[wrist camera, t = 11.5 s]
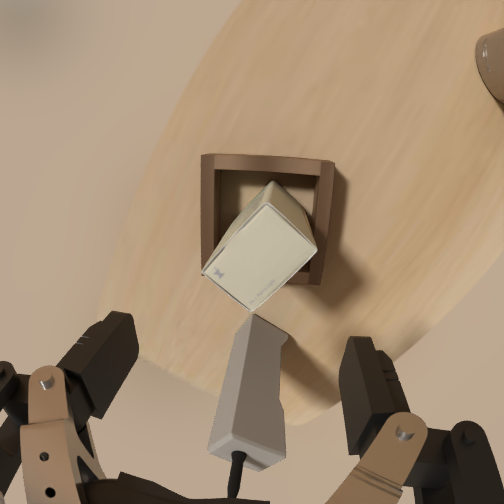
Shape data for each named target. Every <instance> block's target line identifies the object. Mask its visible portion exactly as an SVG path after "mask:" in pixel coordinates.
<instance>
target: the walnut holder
mask: <svg viewBox="0 0 504 504" xmlns="http://www.w3.org/2000/svg"><path fill="white" fill-rule="evenodd" d="M334 168H335V163H333V162H331V161H327V160H317V159H306V158H295V157H281V156H265V155H245V154H205V155H201V266H202V269H203V268H204V266H205V265H206V263H207V261H208V260H209V258H210V257H211V255H212V254H213V252H214V250H215V249H216V247H217V246H218V244H219V243H220V198H221V169H228V170H251V171H269V172H283V173H296V174H308V175H316V179H315V191H314V202H313V212H312V222H311V231H312V234H313V237H314V240H315V243H316V246H317V249H318V250H317V252H316V253H315V254H314V255H313V256H312V257H311V258H310V259H309V260H308V261H307V262H306V263H305V264H304V265H303V266H302V267H301V268H300V269H299V270H298V271H297V272H296V273H295V274H294V275H293V276H292V277H291V278H290V279H289V280H288V281H287V282H286V283H297V284H311V285H320V284H321V277H322V271H323V264H324V257H325V250H326V242H327V234H328V226H329V218H330V209H331V200H332V190H333V180H334ZM202 276H205V275H203V274H202Z"/></svg>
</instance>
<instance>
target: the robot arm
mask: <svg viewBox="0 0 504 504" xmlns="http://www.w3.org/2000/svg"><path fill="white" fill-rule="evenodd" d="M476 61H477V65H478V69H479V72H480V74H481V77H482V79H483V81H484V83H485V84H486V86H487V88H488V89H489V91H490V92H491V93H492V95H493V96H494V97H495V98H496V99H497V100H499V101H500V102H501V103H503V104H504V28H502V29H500V30H497V31H494V32H492V33H489V34H487V35H484V36H482V37H481V38H480V39H479V40H478V42H477V45H476ZM138 354H139V344H138V340H137V335H136V330H135V325H134V320H133V317H132V315H131V314H129V313H123V312H118V311H111V312H110V313H109V314H108V316H107V317H106V318H105V319H104V320H103V321H99V322H97V323H96V324H94V325H92V326H91V327H89V328H88V329H87V331H86V332H85V333H84V334H83V335H82V337H80V338H79V340H78V341H77V343H75V344H74V345H73V346H72V348H71V349H70V350H69V351H68V352H67V354H66V355H65V356H64V357H63V358H62V359H61V361H60V362H59V363H58V364H57V365H56V366H44V367H41V368H39V369H37V370H36V371H35V372H33V374H32V375H24V374H17V373H16V371H15V369H14V367H13V366H12V364H11V363H9V362H6V361H0V411H1V410H2V409H4V410H5V412H6V413H7V415H8V417H7V418H6V420H5V422H4V423H3V424H2V426H1V427H0V504H5V503H4V496H5V494H6V492H7V490H8V488H9V485H10V484H11V482H12V480H13V478H14V476H15V474H16V472H17V470H18V468H19V466H20V464H21V463H22V468H23V478H24V486H25V492H26V498H27V504H270V501H259V500H248V499H238V498H216V499H188V498H185V497H183V496H181V495H179V494H177V493H175V492H172V491H171V490H168V489H167V488H165V487H162V486H161V485H159V484H157V483H155V482H153V481H149V480H145V479H142V478H139V477H136V476H133V475H130V474H127V473H124V472H120V474H119V477H118V479H107V478H106V476H105V474H104V472H103V471H102V469H101V467H100V464H99V461H98V457H97V454H96V450H95V446H94V443H93V439H92V434H91V430H90V425H89V423H88V419H89V417H90V416H93V417H96V418H99V419H102V418H103V416H104V414H105V412H106V411H107V409H108V408H109V406H110V404H111V402H112V401H113V399H114V397H115V395H116V393H117V392H118V390H119V389H120V387H121V385H122V383H123V382H124V380H125V378H126V377H127V375H128V373H129V372H130V370H131V368H132V367H133V365H134V363H135V362H136V360H137V358H138ZM339 388H340V394H341V400H342V406H343V414H344V420H345V428H346V435H347V443H348V451H349V455H359V456H360V461H359V463H358V464H357V465H356V467H355V468H354V469H353V470H352V471H351V473H350V474H349V475H348V477H347V478H346V479H345V480H344V482H343V483H342V484H341V485H340V486H339V488H338V489H337V490H336V492H335V493H334V494H333V495H332V496H331V497H330V498H329V500H328V501H327V502H326V503H325V504H397V503H398V500H399V499H400V497H401V495H402V492H403V491H402V490H401V488H402V486H408V487H413V489H414V496H415V504H504V488H503V484H502V481H501V477H500V474H499V471H498V468H497V465H496V462H495V459H494V456H493V453H492V450H491V447H490V444H489V442H488V439H487V436H486V434H485V432H484V430H483V429H482V427H481V426H479V425H478V424H477V423H475V422H472V421H461V422H459V423H457V424H456V425H455V426H454V427H453V429H452V430H451V431H447V430H439V429H432V428H428V427H427V426H426V424H425V422H424V421H423V420H422V419H421V418H420V417H418V416H417V415H415V414H413V413H411V412H410V409H409V406H408V403H407V400H406V398H405V395H404V392H403V389H402V387H401V384H400V381H398V375H397V373H396V372H395V368H394V365H393V362H392V360H391V359H390V358H389V357H388V356H387V354H386V353H385V352H384V351H383V350H377V351H376V350H375V347H374V344H373V342H372V339H371V337H361V336H350V337H349V338H348V341H347V345H346V348H345V352H344V355H343V359H342V362H341V366H340V370H339Z"/></svg>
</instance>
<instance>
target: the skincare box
mask: <svg viewBox="0 0 504 504" xmlns="http://www.w3.org/2000/svg"><path fill="white" fill-rule="evenodd" d="M317 250H318V249H317V246H316V243H315V240H314V237H313V234H312V231H311V228H310V225H309V222H308V219H307V216H306V213H305V209H304V208H303V207H302V206H301V205H300V204H299V203H298V202H297V201H296V200H295V199H294V198H293V197H292V196H291V195H290V194H289V193H288V192H287V191H286V190H285V189H284V188H283V187H282V186H280V185H279V184H278V183H277V182H276V181H274V180H272V181H271V182H270V183H269V184H268V185H267V186H266V187H265V188H264V189H263V190H262V191H261V192H260V193H259V194H258V195H257V196H256V197H255V198H254V199H253V200H252V201H251V202H250V203H249V204H248V205H247V207H246V208H245V209H244V210H243V211H242V212H241V213H240V214H239V215H238V217H237V218H236V219H235V220H234V221H233V222H232V224H231V225H230V227H229V229H228V230H227V232H226V233H225V235H224V236H223V238H222V240H221V241H220V243H219V244H218V246H217V247H216V249H215V250H214V252H213V254H212V255H211V257H210V258H209V260H208V261H207V263H206V265H205V266H204V268H203V269H202V274H203V275H205V276H206V277H207V278H208V279H209V280H210V281H212V282H213V283H214V284H215V285H216V286H218V287H219V288H220V289H221V290H222V291H224V292H225V293H226V294H227V295H229V296H230V297H231V298H232V299H233V300H235V301H236V302H237V303H239V304H240V305H241V306H243V307H244V308H245V309H247V310H248V311H249V312H253V311H254V310H255V309H257V308H258V307H259V306H260V305H261V304H263V303H264V302H265V301H266V300H267V299H268V298H270V297H271V296H272V295H273V294H274V293H275V292H276V291H277V290H278V289H279V288H281V287H282V286H283V285H284V284H285V283H286V282H287V281H288V280H289V279H290V278H291V277H292V276H293V275H294V274H295V273H296V272H297V271H298V270H299V269H300V268H301V267H302V266H303V265H304V264H305V263H306V262H307V261H308V260H309V259H310V258H311V257H312V256H313V255H314V254H315V253H316V252H317Z"/></svg>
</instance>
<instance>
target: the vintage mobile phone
mask: <svg viewBox="0 0 504 504" xmlns="http://www.w3.org/2000/svg"><path fill="white" fill-rule="evenodd" d="M287 340H288V334H286V333H285V332H283V331H281V330H280V329H278V328H276V327H275V326H273V325H271V324H270V323H268V322H266V321H265V320H263V319H261V318H260V317H258V316H256V315H255V314H252V315H251V316H250V318H249V319H248V320H247V321H246V322H245V323H244V325H243V326H242V327H241V328H240V329H239V330H238V332H237V333H236V334H235V338H234V342H233V346H232V350H231V354H230V358H229V362H228V366H227V370H226V375H225V379H224V383H223V387H222V391H221V395H220V399H219V403H218V407H217V411H216V415H215V419H214V423H213V427H212V431H211V435H210V439H209V443H208V447H207V450H208V452H209V453H210V454H213V455H215V456H217V457H220V458H222V459H225V460H227V461H230V462H232V466H231V471H230V477H229V482H228V497H227V498H236V497H237V495H238V492H239V489H240V482H241V476H242V468H243V466H244V467H246V468H250V469H252V470H255V471H262V470H264V469H266V468H268V467H270V466H271V465H274V464H275V463H277V462H279V461H281V460H283V459H285V458H286V443H285V424H284V410H283V408H282V405H281V403H280V400H279V392H280V368H281V347H282V346H283V344H284V343H285V342H286V341H287Z"/></svg>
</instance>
